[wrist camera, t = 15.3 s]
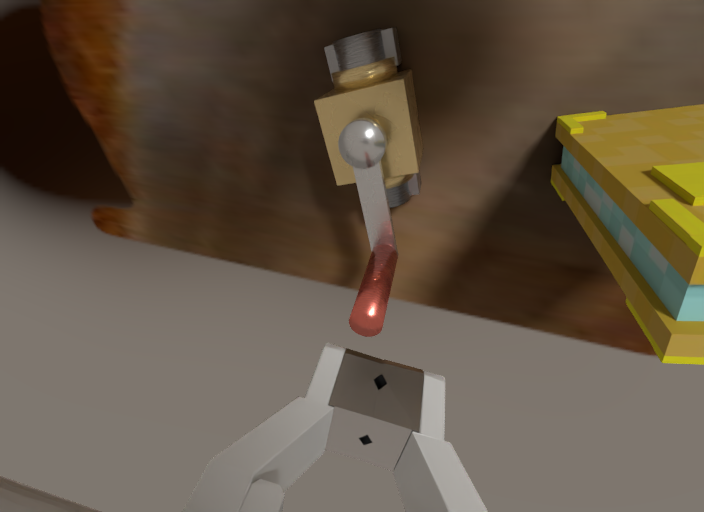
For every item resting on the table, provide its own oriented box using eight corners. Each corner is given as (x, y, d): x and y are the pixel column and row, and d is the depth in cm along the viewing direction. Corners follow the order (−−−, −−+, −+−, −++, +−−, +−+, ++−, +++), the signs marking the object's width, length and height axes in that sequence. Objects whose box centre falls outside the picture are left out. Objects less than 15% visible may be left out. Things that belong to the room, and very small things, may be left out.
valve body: (325, 45, 37) (294, 51, 30) (404, 22, 34) (392, 22, 27) (361, 193, 45) (344, 227, 37) (428, 183, 42) (424, 217, 35)
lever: (336, 122, 32) (291, 163, 23) (382, 113, 31) (354, 153, 21) (369, 262, 39) (344, 336, 30) (407, 259, 37) (394, 336, 28)
